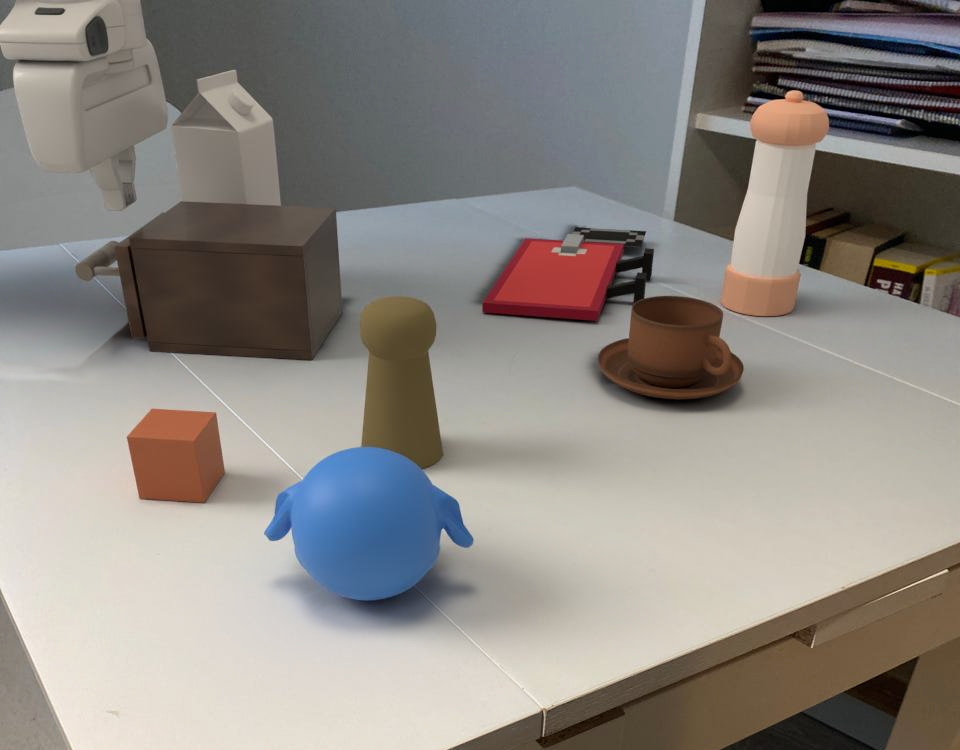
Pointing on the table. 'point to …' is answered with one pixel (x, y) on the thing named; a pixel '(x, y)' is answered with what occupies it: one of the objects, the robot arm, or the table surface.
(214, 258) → the cabinet
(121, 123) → the robot arm
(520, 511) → the table surface
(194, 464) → the block
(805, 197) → the pepper shaker
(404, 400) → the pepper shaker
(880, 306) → the table surface
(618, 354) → the cup and saucer
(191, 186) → the milk carton
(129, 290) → the drawer
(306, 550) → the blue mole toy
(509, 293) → the red board with handle
